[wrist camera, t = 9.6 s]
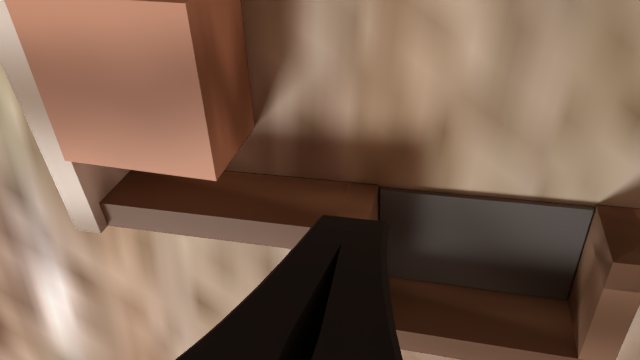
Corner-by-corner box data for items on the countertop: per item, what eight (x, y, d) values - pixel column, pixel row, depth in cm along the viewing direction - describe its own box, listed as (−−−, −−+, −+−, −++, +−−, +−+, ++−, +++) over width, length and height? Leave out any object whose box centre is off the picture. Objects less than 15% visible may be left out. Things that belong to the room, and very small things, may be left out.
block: (256, 124, 21) (216, 181, 17) (124, 110, 22) (64, 160, 19) (239, -33, 17) (185, 3, 14) (83, -39, 18) (1, -7, 15)
